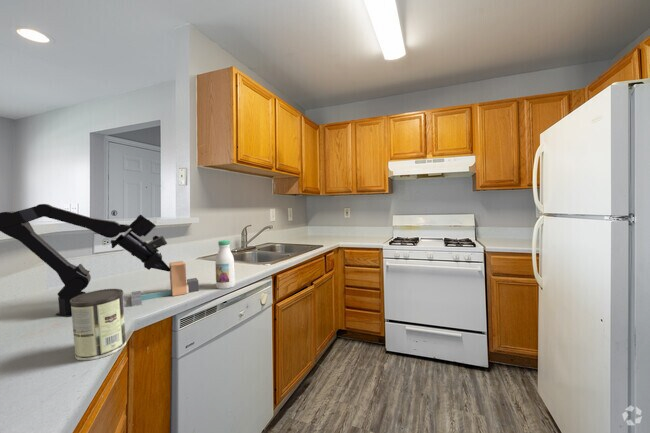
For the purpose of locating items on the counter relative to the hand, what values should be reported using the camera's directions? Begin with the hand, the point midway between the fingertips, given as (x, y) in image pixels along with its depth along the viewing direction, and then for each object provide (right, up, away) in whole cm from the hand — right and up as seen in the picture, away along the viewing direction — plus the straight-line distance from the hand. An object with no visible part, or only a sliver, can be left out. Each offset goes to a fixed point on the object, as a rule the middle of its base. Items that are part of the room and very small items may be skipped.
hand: (169, 270), depth 111 cm
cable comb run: (-1, -10, 0) cm, 10 cm away
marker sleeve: (+2, -9, +2) cm, 10 cm away
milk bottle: (+19, -9, +9) cm, 23 cm away
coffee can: (+6, -12, -41) cm, 43 cm away
